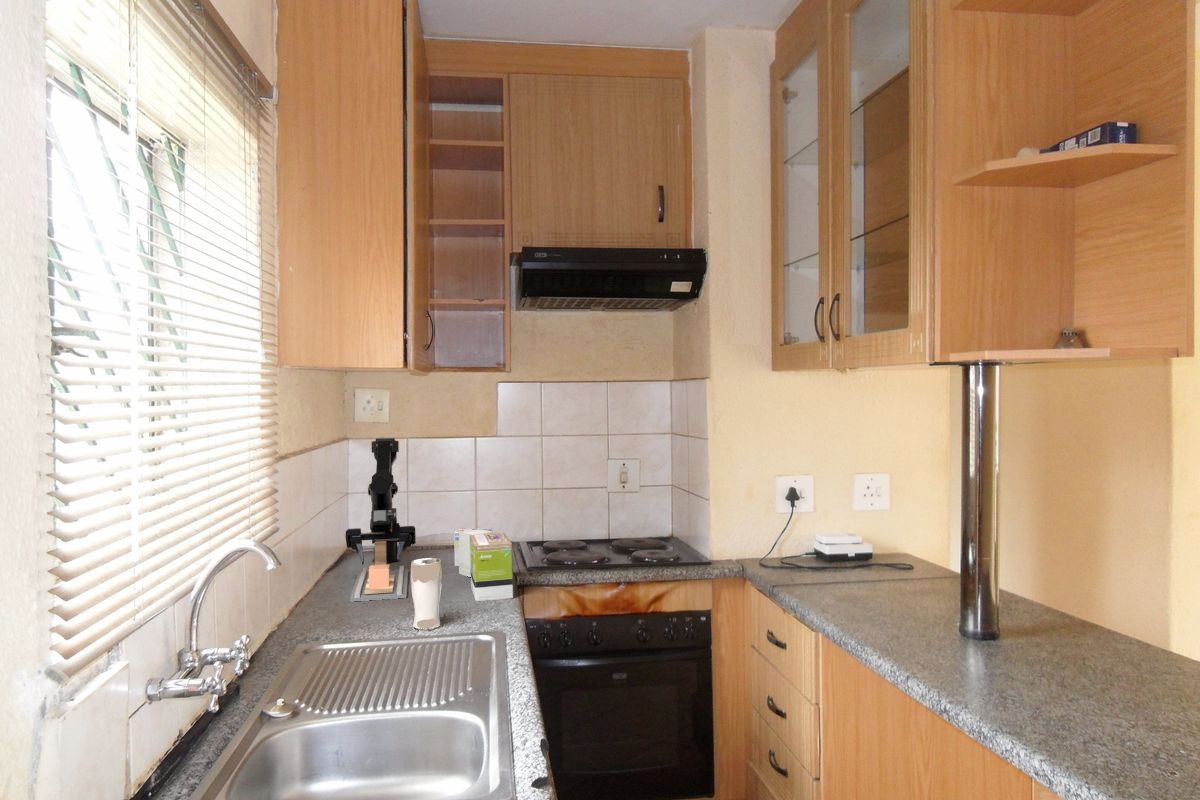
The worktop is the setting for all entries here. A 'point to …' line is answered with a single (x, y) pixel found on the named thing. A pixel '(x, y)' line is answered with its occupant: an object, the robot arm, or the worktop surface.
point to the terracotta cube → (379, 576)
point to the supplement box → (467, 549)
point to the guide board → (398, 592)
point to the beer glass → (426, 591)
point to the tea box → (491, 567)
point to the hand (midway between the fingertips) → (380, 562)
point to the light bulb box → (456, 544)
